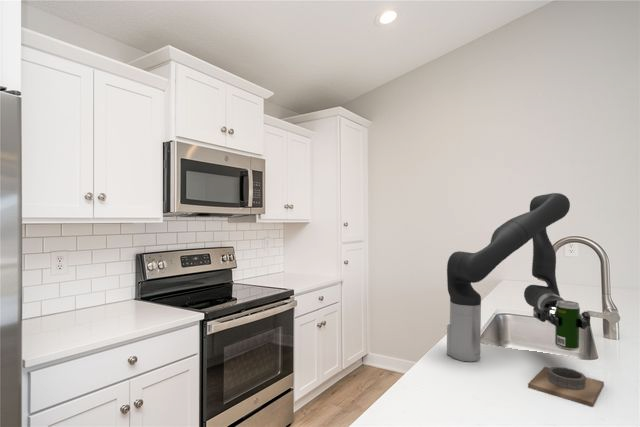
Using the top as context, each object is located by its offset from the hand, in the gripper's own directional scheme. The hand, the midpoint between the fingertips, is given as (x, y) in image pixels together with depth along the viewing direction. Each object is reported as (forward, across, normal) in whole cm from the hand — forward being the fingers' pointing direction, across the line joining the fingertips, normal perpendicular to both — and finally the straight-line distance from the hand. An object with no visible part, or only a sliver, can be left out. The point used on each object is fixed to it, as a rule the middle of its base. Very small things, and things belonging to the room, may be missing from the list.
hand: (570, 323), depth 99 cm
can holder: (-2, 0, +17) cm, 17 cm away
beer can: (-3, 0, +7) cm, 8 cm away
